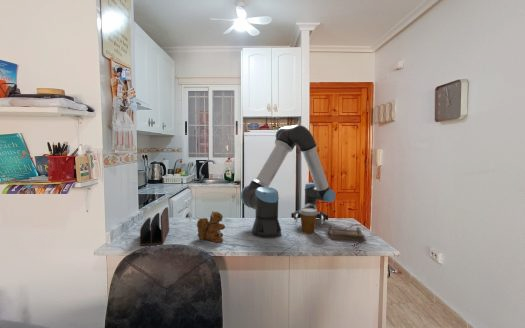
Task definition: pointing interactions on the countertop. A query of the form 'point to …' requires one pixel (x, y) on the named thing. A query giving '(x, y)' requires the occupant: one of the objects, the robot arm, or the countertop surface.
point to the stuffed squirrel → (211, 228)
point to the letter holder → (155, 230)
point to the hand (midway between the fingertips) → (309, 220)
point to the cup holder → (346, 234)
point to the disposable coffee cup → (308, 220)
